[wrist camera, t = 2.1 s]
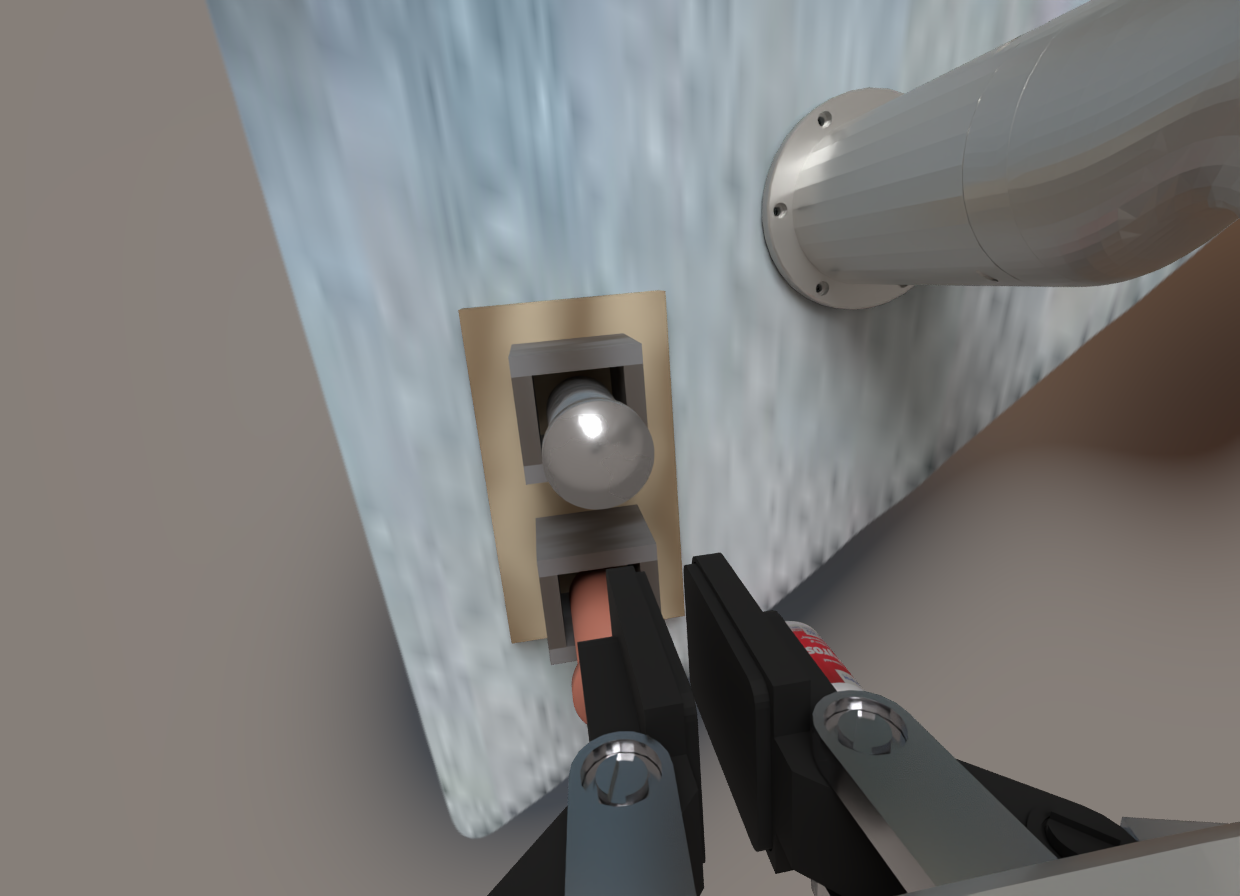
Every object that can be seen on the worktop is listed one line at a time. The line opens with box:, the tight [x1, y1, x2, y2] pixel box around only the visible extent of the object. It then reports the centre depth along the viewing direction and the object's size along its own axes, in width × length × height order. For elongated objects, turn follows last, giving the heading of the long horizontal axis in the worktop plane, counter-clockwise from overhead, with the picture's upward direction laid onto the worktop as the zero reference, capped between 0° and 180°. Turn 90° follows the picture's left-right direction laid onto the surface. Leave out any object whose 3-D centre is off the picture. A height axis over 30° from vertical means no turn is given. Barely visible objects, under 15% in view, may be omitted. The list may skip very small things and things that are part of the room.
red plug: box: [569, 567, 616, 724], centre depth 30 cm, size 4×4×9 cm
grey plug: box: [542, 376, 654, 510], centre depth 27 cm, size 4×4×9 cm
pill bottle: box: [785, 621, 864, 692], centre depth 40 cm, size 6×6×11 cm
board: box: [458, 290, 685, 665], centre depth 35 cm, size 12×22×8 cm, turn 5°
